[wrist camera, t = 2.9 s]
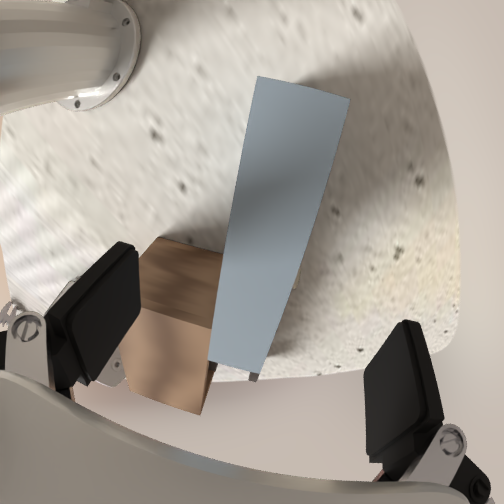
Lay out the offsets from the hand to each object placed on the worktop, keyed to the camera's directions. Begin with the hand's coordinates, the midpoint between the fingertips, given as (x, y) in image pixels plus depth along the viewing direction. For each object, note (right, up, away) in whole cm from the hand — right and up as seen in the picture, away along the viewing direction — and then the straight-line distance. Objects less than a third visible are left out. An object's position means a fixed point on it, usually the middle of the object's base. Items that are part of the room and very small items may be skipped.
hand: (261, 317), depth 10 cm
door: (+3, +9, +15) cm, 17 cm away
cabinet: (-5, -5, +24) cm, 25 cm away
